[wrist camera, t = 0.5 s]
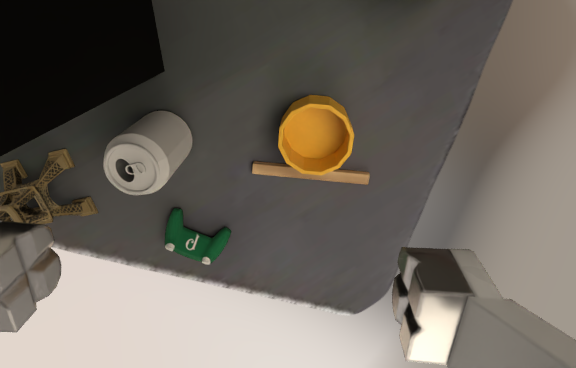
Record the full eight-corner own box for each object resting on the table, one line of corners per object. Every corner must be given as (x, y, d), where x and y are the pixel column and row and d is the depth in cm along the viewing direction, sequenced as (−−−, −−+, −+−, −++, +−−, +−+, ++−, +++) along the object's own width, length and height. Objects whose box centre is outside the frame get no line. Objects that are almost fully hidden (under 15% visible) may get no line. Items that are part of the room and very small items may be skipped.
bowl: (284, 91, 50) (281, 100, 46) (354, 97, 50) (358, 107, 46) (279, 156, 54) (276, 171, 50) (344, 162, 54) (347, 178, 50)
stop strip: (253, 160, 55) (252, 163, 54) (368, 171, 54) (369, 175, 53) (253, 170, 55) (252, 173, 54) (367, 181, 55) (367, 184, 54)
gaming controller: (174, 210, 61) (157, 246, 59) (174, 205, 57) (156, 243, 55) (230, 232, 62) (215, 269, 60) (232, 229, 59) (217, 267, 57)
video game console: (14, -57, 45) (-439, -133, 18) (140, -67, 44) (-140, -163, 17) (55, 76, 51) (-233, 169, 24) (166, 71, 50) (-7, 162, 23)
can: (131, 116, 53) (84, 147, 42) (182, 102, 52) (147, 131, 41) (153, 166, 56) (115, 207, 45) (202, 154, 55) (174, 193, 44)
